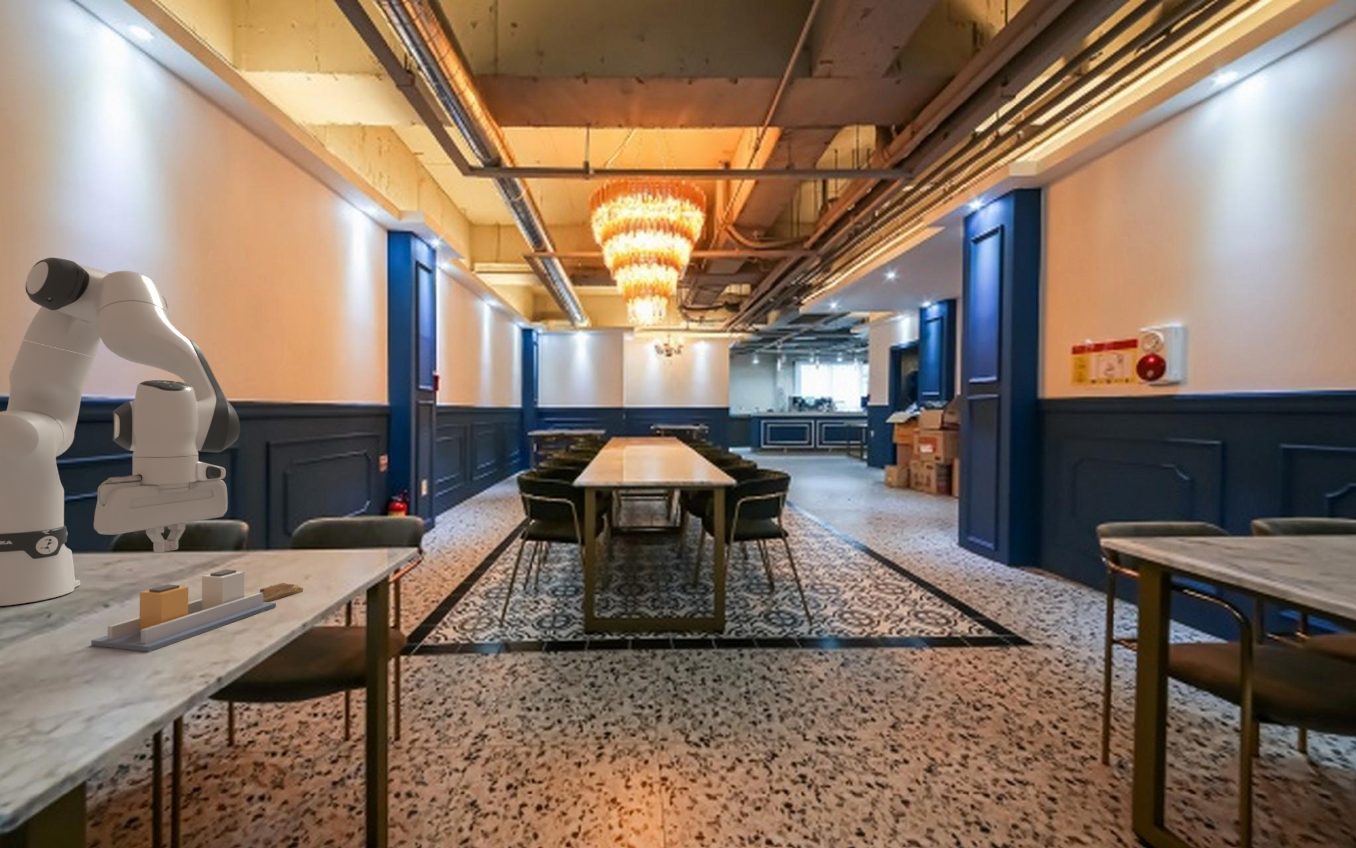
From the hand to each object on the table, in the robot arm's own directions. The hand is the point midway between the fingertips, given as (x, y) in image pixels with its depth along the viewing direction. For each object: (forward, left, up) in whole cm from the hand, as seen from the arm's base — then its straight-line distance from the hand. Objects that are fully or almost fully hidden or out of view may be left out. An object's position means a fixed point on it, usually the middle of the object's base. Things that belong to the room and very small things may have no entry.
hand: (166, 551), depth 106 cm
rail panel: (0, +5, -15) cm, 15 cm away
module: (0, 0, -14) cm, 14 cm away
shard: (0, +24, -15) cm, 28 cm away
